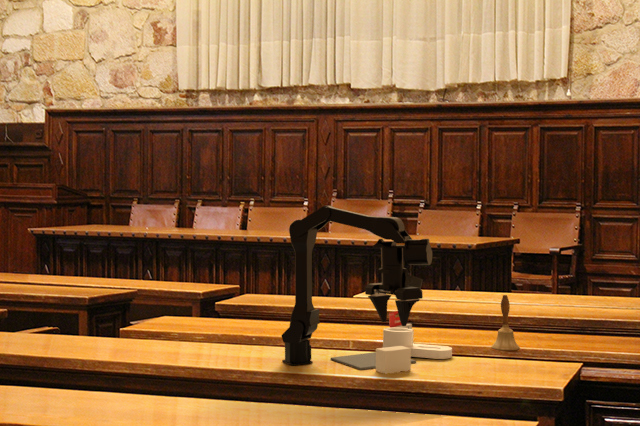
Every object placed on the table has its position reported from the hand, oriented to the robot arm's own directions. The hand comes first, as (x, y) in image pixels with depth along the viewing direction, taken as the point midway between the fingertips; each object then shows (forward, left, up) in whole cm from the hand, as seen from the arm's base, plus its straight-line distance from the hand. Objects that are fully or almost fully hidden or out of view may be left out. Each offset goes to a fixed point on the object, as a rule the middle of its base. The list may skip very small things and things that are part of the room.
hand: (393, 323), depth 214 cm
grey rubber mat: (+2, +13, -12) cm, 18 cm away
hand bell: (+47, +9, -13) cm, 49 cm away
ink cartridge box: (+26, +34, -13) cm, 44 cm away
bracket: (+17, +13, -12) cm, 24 cm away
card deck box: (0, 0, -12) cm, 12 cm away
